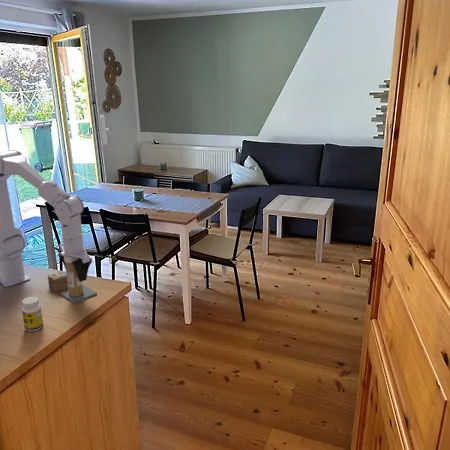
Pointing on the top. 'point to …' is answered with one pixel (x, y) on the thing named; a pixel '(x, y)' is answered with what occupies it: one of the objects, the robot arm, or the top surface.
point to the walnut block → (58, 281)
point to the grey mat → (86, 294)
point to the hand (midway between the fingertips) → (76, 276)
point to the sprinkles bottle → (72, 277)
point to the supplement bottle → (32, 314)
